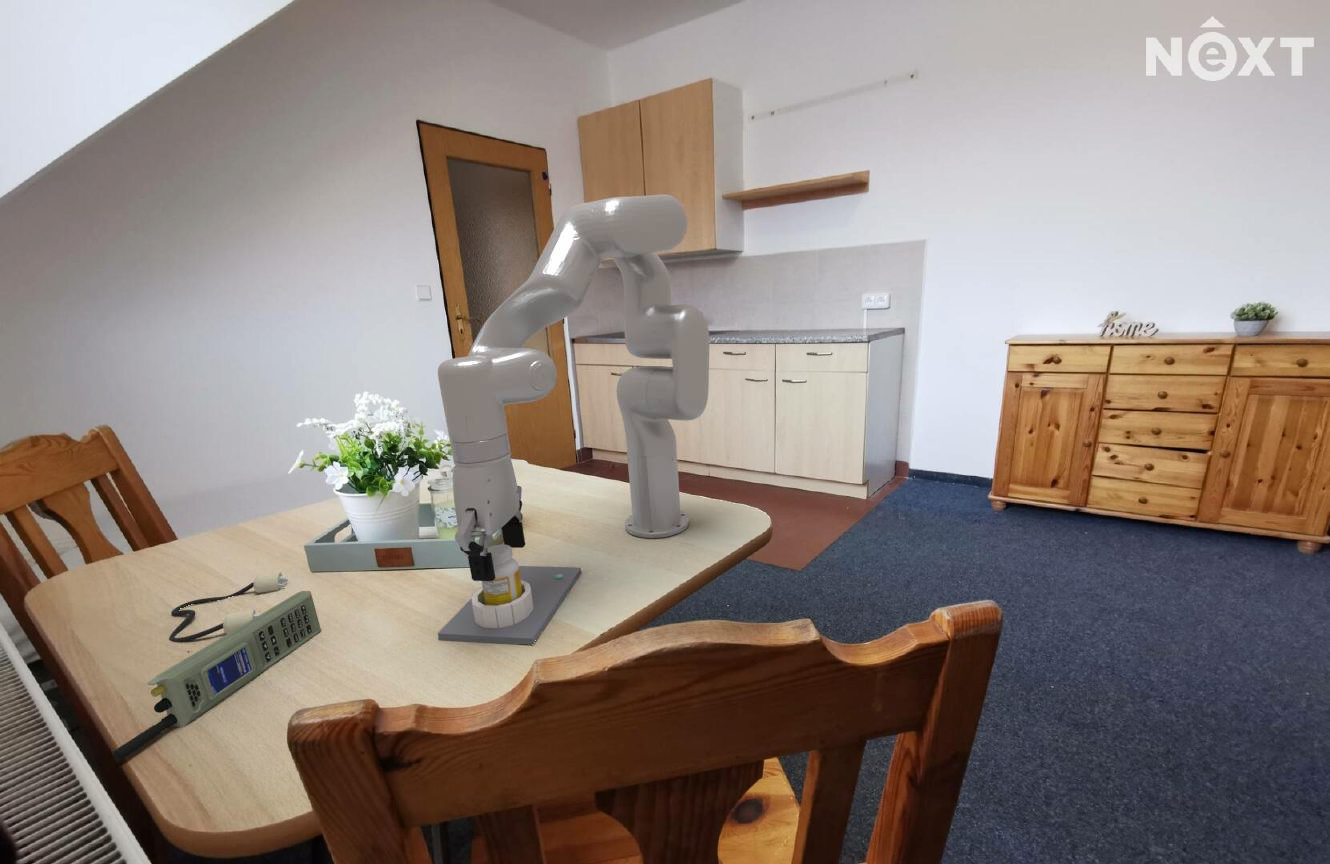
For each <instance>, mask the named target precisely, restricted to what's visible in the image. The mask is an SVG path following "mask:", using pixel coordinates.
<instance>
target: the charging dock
mask: <svg viewBox="0 0 1330 864" xmlns="http://www.w3.org/2000/svg"><path fill="white" fill-rule="evenodd" d="M519 571H520V579H521V587H522V596H521V597H520V598H518V599H516V600H514V601H512V602H510V603H506V604H502V605H498V606H491V605H485V600H484V593H483V587H482V586H481V587H479V588H478V589H477V590H476V591H475V592H474V593H473V594H472V596H471V598H470V599H469V600H468V602H466V604H464V605H463V607H461V608H460V609H459V611H458V612H457V613H456V614H455V615H454V616H453V617H452V618H451V619H449V621H448V622H447V623H446V624H445V625H444V626H443V627H442V628H441V629H440V630H439V631H438V632H437V637H438V641H451V642H453V641H454V642H469V643H472V642H473V643H488V644H491V643H492V644H502V645H503V644H504V643H505V644H506V645H507V644H508V645H520V644H534V642H535V640H537V641H538V639H539V638H538V636H539V637H540V636H541V635H542V633H543V632H544V630H545V629H546V628H547V626H548V624H549V623H550V621H551V620H552V618H553V617H554V616H555V613H556V612H557V610H558V609H559V608H560V606H561V605H562V603H563V602H564V600H565V599H566V597H567V596H568V595H569V592H570V591H571V590H572V588H573V587H574V586H575V583H576V582H577V581H578V579H579V578H580V576H581V575H582V567H571V566H569V567H567V566H535V565H532V566H531V565H519ZM546 625H547V626H546ZM544 628H545V629H544ZM541 632H542V633H541ZM540 634H541V635H540ZM537 638H538V639H537ZM516 643H517V644H516ZM535 643H536V642H535ZM505 644H504V645H505ZM534 645H535V644H534Z"/></svg>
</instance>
